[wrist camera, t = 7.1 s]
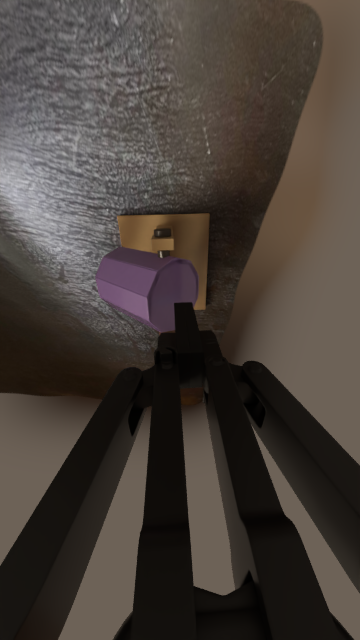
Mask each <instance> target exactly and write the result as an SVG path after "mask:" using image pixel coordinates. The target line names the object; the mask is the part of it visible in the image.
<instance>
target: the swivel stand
mask: <svg viewBox="0 0 360 640" xmlns="http://www.w3.org/2000/svg"><path fill="white" fill-rule="evenodd" d="M117 218H118V224H119V231H120V238H121V244H122V247H126V248H131V249H136V250H141V251H146V252H151V253H157V251H160V250H170V256H172V257H177V258H182V259H187V260H190V261H191V262H192V264H193V266H194V268H195V270H196V271H197V273H198V275H199V294H198V299H197V301H196V303H195V306H194V310H200V309H205V307H206V285H207V263H208V241H209V219H210V214H209V213H198V214H157V215H119V216H117ZM157 254H158V253H157ZM171 332H175V330H172V331H167V332H160V333H159V336H160V334H161V333H171Z"/></svg>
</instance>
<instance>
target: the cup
mask: <svg viewBox="0 0 360 640" xmlns="http://www.w3.org/2000/svg"><path fill="white" fill-rule="evenodd" d="M157 253H158V254H157ZM157 253H151V252H146V251H141V250H136V249H131V248H126V247H118V248H116V249H115V250H113V251H112V252H110V253H108V254H107V255H105V256H104V257H103V258H102V261H101V263H100V266H99V268H98V271H97V273H96V276H95V279H96V283H97V287H98V292H99V296H100V298H101V299H103V300H104V301H105V302H106V303H108V304H109V305H110V306H111V307H113V308H115V309H116V310H118V311H120V312H122V313H124V314H126V315H128V316H130V317H132V318H134V319H136V320H138V321H140V322H142V323H144V324H146V325H148V326H150V327H152V328H154V329H156V330H158V331H160V332H167V331H172V330H175V317H174V303H180V302H192V304H193V308H194V306H195V303H196V301H197V299H198V294H199V275H198V273H197V271H196V270H195V268H194V266H193V264H192V262H191V261H190V260H187V259H182V258H177V257H172V256H170V250H160V251H157Z"/></svg>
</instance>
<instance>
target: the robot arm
mask: <svg viewBox="0 0 360 640" xmlns="http://www.w3.org/2000/svg"><path fill="white" fill-rule="evenodd" d="M174 317H175V332H171V333H161V334H160V336H159V337H158V348H157V349H156V350H155V352H154V360H155V365H154V366H153V367H151V368H150V369H147V370H144V371H141V370H140V369H139V368H136V367H129V368H126V369H124V370H122V371H121V372H120V373H119V374H118V376H117V377H116V379H115V380H114V382H113V384H112V385H111V387H110V389H109V390H108V392H107V393H106V395H105V397H104V398H103V400H102V402H101V403H100V405H99V407H98V408H97V410H96V412H95V413H94V415H93V416H92V418H91V419H90V421H89V423H88V424H87V426H86V428H85V429H84V431H83V432H82V434H81V436H80V437H79V439H78V441H77V442H76V444H75V445H74V447H73V449H72V450H71V452H70V454H69V455H68V457H67V458H66V460H65V462H64V463H63V465H62V467H61V468H60V470H59V471H58V473H57V475H56V476H55V478H54V480H53V481H52V483H51V484H50V486H49V488H48V489H47V491H46V493H45V494H44V496H43V497H42V499H41V501H40V502H39V504H38V506H37V507H36V509H35V510H34V512H33V514H32V516H31V517H30V519H29V520H28V522H27V523H26V525H25V527H24V528H23V530H22V532H21V533H20V535H19V536H18V538H17V540H16V541H15V543H14V545H13V546H12V548H11V549H10V551H9V553H8V554H7V556H6V558H5V559H4V561H3V562H2V564H1V566H0V640H58V638H59V636H60V634H61V632H62V629H63V627H64V624H65V622H66V620H67V617H68V615H69V612H70V610H71V608H72V605H73V603H74V600H75V597H76V595H77V592H78V589H79V587H80V584H81V582H82V579H83V576H84V573H85V571H86V568H87V566H88V563H89V560H90V558H91V555H92V552H93V550H94V547H95V544H96V542H97V539H98V537H99V534H100V531H101V529H102V526H103V523H104V521H105V518H106V515H107V513H108V510H109V507H110V505H111V502H112V499H113V497H114V494H115V491H116V489H117V486H118V483H119V481H120V478H121V476H122V473H123V470H124V468H125V465H126V462H127V460H128V457H129V454H130V452H131V449H132V447H133V444H134V441H135V439H136V436H137V433H138V431H139V428H140V425H141V423H142V420H143V417H144V415H145V412H146V409H147V407H149V406H152V411H151V425H150V438H149V451H148V464H147V478H146V491H145V505H144V518H143V525H142V530H141V532H140V538H139V545H138V556H137V567H136V580H135V592H134V603H133V611H132V612H131V614H130V615H129V616H128V617H127V619H126V620H125V621H124V623H123V624H122V626H121V627H120V629H119V630H118V632H117V634H116V635H115V637H114V639H113V640H354V639H353V638H352V636H351V635H349V633H348V632H347V631H346V629H345V628H344V627H343V626H342V625H341V623H340V622H339V621H338V620H337V619H336V618H335V617H334V616H333V615H332V613H331V612H330V611H329V609H328V606H327V604H326V601H325V599H324V596H323V593H322V591H321V588H320V586H319V583H318V581H317V578H316V575H315V573H314V571H313V568H312V565H311V563H310V560H309V558H308V555H307V553H306V550H305V548H304V545H303V542H302V540H301V537H300V535H299V533H298V531H297V529H296V527H295V525H294V524H293V522H292V521H291V520H290V519H289V518H288V517H286V515H285V514H284V512H283V510H282V508H281V505H280V502H279V499H278V497H277V494H276V491H275V488H274V486H273V483H272V480H271V478H270V475H269V472H268V469H267V467H266V464H265V461H264V459H263V456H262V454H261V450H260V448H259V445H258V442H257V439H256V437H255V434H254V431H253V429H252V426H253V428H254V429H255V431H256V433H257V434H258V436H259V437H260V439H261V440H262V442H263V443H264V445H265V447H266V448H267V449H268V451H269V453H270V454H271V456H272V458H273V459H274V461H275V462H276V464H277V465H278V467H279V468H280V470H281V472H282V473H283V475H284V476H285V478H286V479H287V481H288V483H289V484H290V486H291V487H292V489H293V491H294V492H295V494H296V495H297V497H298V498H299V500H300V501H301V503H302V505H303V506H304V508H305V509H306V511H307V512H308V514H309V515H310V517H311V519H312V520H313V522H314V523H315V525H316V527H317V528H318V530H319V531H320V533H321V534H322V536H323V537H324V539H325V541H326V542H327V544H328V545H329V547H330V548H331V550H332V552H333V553H334V555H335V556H336V558H337V559H338V561H339V563H340V564H341V566H342V567H343V569H344V570H345V572H346V574H347V575H348V576H349V578H350V580H351V581H352V583H353V584H354V586H355V587H356V589H357V590H358V592H359V593H360V465H359V464H358V463H357V462H356V461H355V460H354V459H353V458H352V457H351V456H350V455H349V454H348V453H347V452H346V451H345V450H344V449H343V448H342V447H341V445H339V443H338V442H337V441H336V440H335V439H334V438H333V437H332V436H331V435H330V434H329V433H328V432H327V431H326V430H325V429H324V428H323V427H322V426H321V424H320V423H319V422H318V421H317V420H316V419H315V418H314V417H313V416H312V415H311V414H310V413H309V412H308V411H307V410H306V409H305V408H304V407H303V405H302V404H301V403H300V402H299V401H298V400H297V399H296V398H295V397H294V396H293V395H292V394H291V393H290V392H289V391H288V390H287V389H286V388H285V387H284V385H283V384H282V383H281V382H280V381H279V380H278V379H277V378H276V377H275V376H274V375H273V374H272V373H271V372H270V371H269V370H268V369H267V368H266V367H265V366H264V365H263V364H262V363H259V362H256V361H247V362H245V363H244V364H243V366H238V365H234V364H231V363H229V362H228V361H227V360H226V358H224V357H223V356H222V353H221V350H220V347H219V344H218V341H217V339H216V336H215V334H214V333H213V332H212V331H211V330H206V331H199V329H198V325H197V321H196V316H195V312H194V308H193V304H192V302H180V303H174ZM202 383H203V387H204V391H203V403H205V406H206V412H207V418H208V423H209V429H210V435H211V440H212V446H213V451H214V457H215V463H216V468H217V474H218V480H219V485H220V491H221V496H222V501H223V508H224V513H225V518H226V524H227V530H228V536H229V540H230V549H231V563H232V570H233V578H234V583H235V591H233V592H231V593H229V594H228V595H223V596H222V595H219V594H216V593H213V592H209V591H207V590H204V589H200V588H198V587H195V586H193V572H192V557H191V543H190V530H189V520H188V506H187V490H186V475H185V460H184V444H183V431H182V430H183V429H182V414H181V399H180V388H196V387H202ZM251 425H252V426H251Z"/></svg>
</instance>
